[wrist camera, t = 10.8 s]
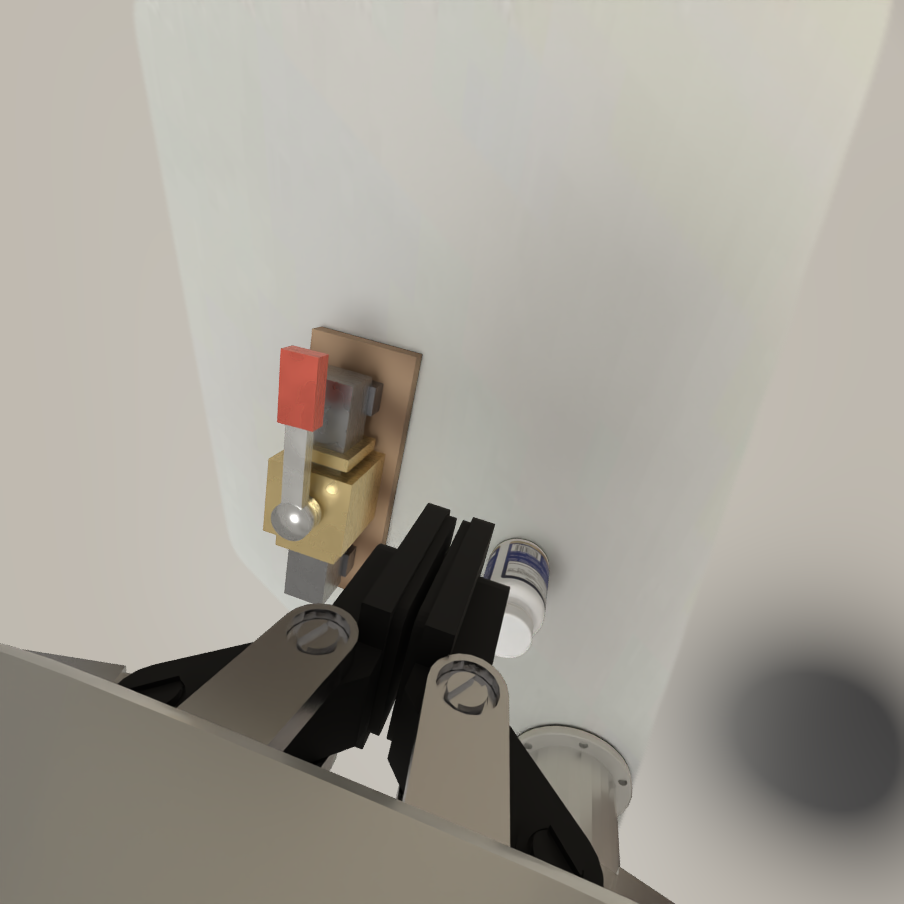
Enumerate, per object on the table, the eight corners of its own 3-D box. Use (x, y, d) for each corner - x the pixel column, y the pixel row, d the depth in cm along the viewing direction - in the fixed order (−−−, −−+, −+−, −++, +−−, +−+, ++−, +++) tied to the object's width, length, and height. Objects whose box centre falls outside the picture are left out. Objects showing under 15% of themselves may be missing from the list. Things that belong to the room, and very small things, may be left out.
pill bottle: (507, 596, 47) (488, 674, 38) (479, 549, 46) (453, 617, 37) (560, 578, 45) (554, 656, 36) (532, 528, 44) (519, 595, 35)
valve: (363, 578, 48) (330, 624, 42) (299, 555, 49) (257, 597, 43) (399, 378, 40) (365, 397, 34) (321, 356, 41) (275, 371, 35)
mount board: (376, 589, 50) (371, 598, 49) (295, 560, 51) (287, 568, 50) (422, 354, 41) (416, 357, 39) (321, 326, 42) (312, 328, 41)
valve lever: (319, 532, 39) (306, 546, 37) (284, 522, 39) (269, 535, 37) (336, 353, 33) (321, 358, 31) (295, 343, 34) (278, 347, 32)
